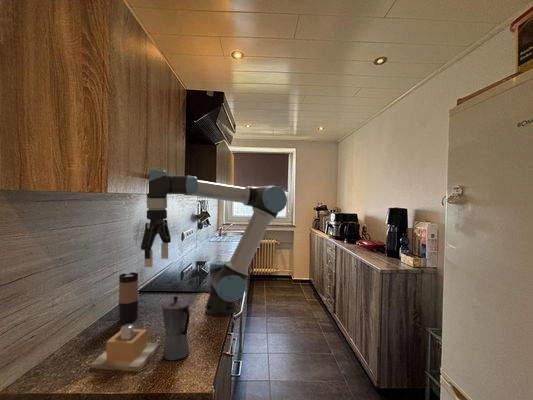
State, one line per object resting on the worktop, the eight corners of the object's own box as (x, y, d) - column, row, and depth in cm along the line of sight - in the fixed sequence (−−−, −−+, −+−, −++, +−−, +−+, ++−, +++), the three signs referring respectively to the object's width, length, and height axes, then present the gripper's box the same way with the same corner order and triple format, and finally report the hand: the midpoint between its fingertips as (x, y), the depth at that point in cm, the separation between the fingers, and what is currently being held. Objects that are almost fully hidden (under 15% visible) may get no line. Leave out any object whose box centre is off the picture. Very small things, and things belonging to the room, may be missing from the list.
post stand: (117, 344, 104) (117, 316, 104) (159, 347, 102) (159, 319, 102) (90, 368, 90) (90, 335, 90) (138, 371, 88) (138, 338, 88)
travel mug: (130, 324, 120) (130, 277, 120) (114, 322, 122) (114, 276, 121) (141, 316, 127) (141, 272, 127) (127, 315, 129) (127, 271, 129)
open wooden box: (123, 345, 101) (123, 328, 101) (147, 346, 100) (147, 329, 100) (106, 359, 92) (106, 341, 92) (132, 361, 91) (132, 343, 91)
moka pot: (176, 341, 107) (177, 289, 106) (202, 356, 97) (202, 299, 97) (153, 352, 99) (153, 296, 99) (178, 369, 90) (178, 307, 89)
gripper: (162, 207, 124) (162, 255, 125) (130, 211, 99) (130, 270, 100) (178, 207, 124) (178, 255, 124) (150, 211, 99) (150, 271, 99)
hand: (157, 262), depth 112 cm, fingers open, 13 cm apart
